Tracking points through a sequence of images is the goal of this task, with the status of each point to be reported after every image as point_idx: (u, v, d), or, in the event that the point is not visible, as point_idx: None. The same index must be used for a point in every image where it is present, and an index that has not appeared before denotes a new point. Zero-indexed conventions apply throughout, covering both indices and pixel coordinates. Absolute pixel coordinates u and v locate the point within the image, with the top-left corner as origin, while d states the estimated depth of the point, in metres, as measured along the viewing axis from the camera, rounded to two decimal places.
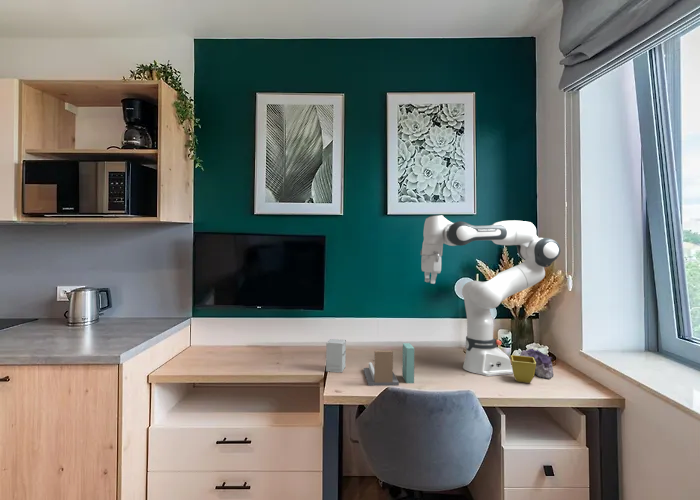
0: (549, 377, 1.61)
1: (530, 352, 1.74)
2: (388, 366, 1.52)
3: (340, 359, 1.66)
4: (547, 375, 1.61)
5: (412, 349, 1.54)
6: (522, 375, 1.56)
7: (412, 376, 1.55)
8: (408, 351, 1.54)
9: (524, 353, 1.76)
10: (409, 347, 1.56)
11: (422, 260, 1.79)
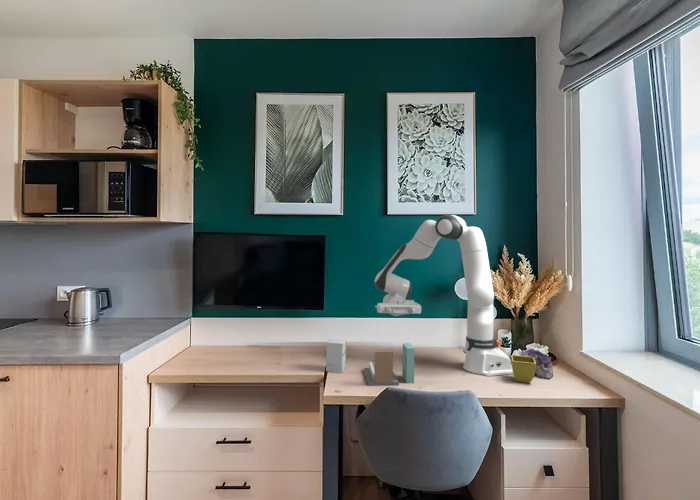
0: (549, 377, 1.61)
1: (530, 352, 1.74)
2: (388, 366, 1.52)
3: (340, 359, 1.66)
4: (547, 375, 1.61)
5: (412, 349, 1.54)
6: (522, 375, 1.56)
7: (412, 376, 1.55)
8: (408, 351, 1.54)
9: (524, 353, 1.76)
10: (409, 347, 1.56)
11: None
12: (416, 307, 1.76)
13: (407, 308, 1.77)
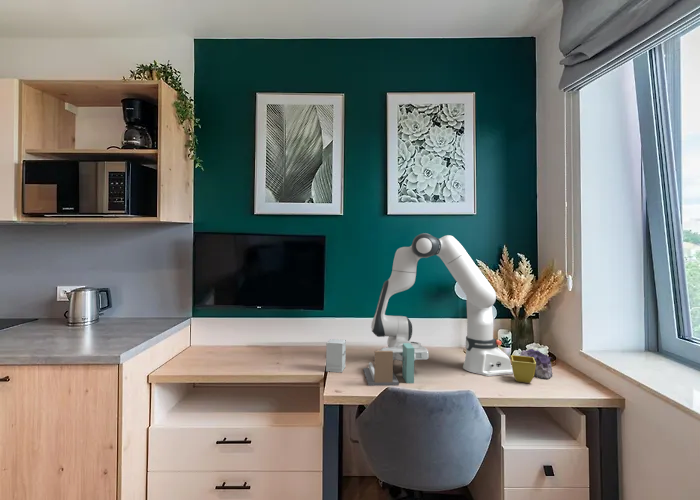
0: (548, 377, 1.61)
1: (530, 352, 1.74)
2: (388, 366, 1.52)
3: (340, 359, 1.66)
4: (546, 375, 1.61)
5: (412, 349, 1.54)
6: (522, 375, 1.56)
7: (412, 376, 1.55)
8: (408, 351, 1.54)
9: (524, 353, 1.76)
10: (409, 347, 1.56)
11: None
12: (423, 352, 1.64)
13: None
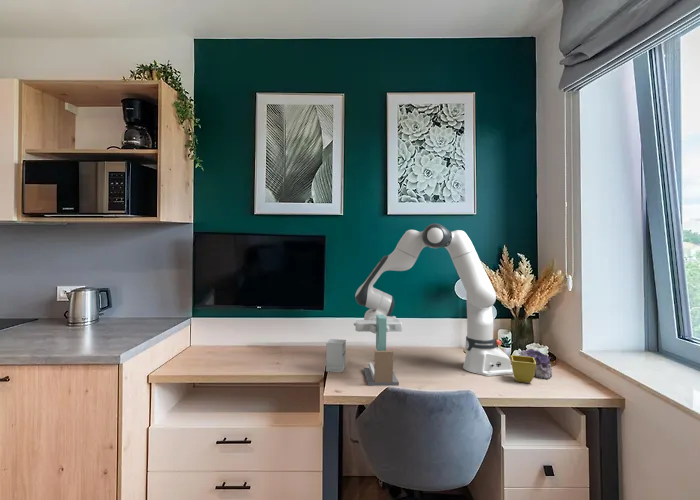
0: (547, 377, 1.61)
1: (529, 352, 1.74)
2: (388, 366, 1.52)
3: (340, 359, 1.66)
4: (545, 375, 1.61)
5: (384, 319, 1.56)
6: (522, 375, 1.56)
7: (384, 346, 1.56)
8: (380, 321, 1.55)
9: (524, 353, 1.76)
10: (381, 317, 1.57)
11: None
12: (397, 324, 1.65)
13: None
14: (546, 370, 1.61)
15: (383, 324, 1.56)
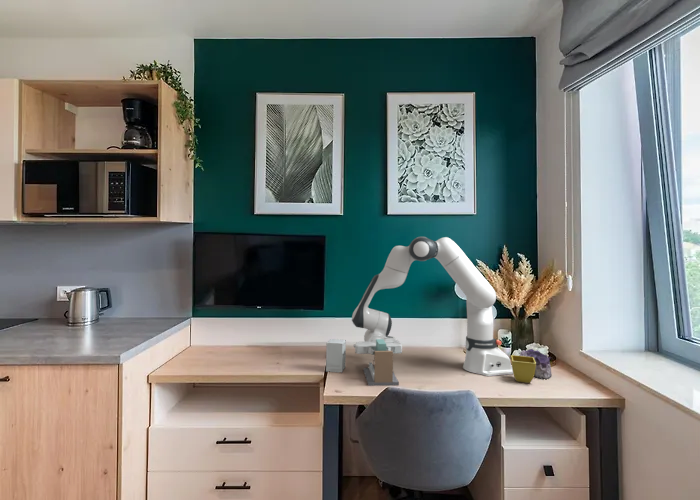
0: (547, 377, 1.61)
1: (529, 352, 1.74)
2: (388, 366, 1.52)
3: (340, 359, 1.66)
4: (545, 375, 1.61)
5: (384, 345, 1.56)
6: (522, 375, 1.56)
7: None
8: (380, 347, 1.56)
9: (523, 353, 1.76)
10: (381, 343, 1.57)
11: None
12: (396, 346, 1.65)
13: None
14: (545, 370, 1.61)
15: (383, 350, 1.56)
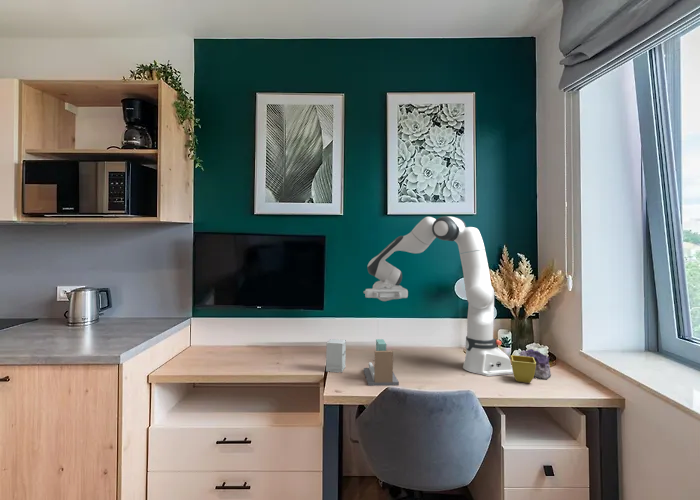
0: (545, 377, 1.61)
1: (529, 352, 1.74)
2: (388, 366, 1.52)
3: (340, 359, 1.66)
4: (543, 375, 1.61)
5: (384, 345, 1.56)
6: (522, 375, 1.56)
7: None
8: (380, 347, 1.56)
9: (523, 353, 1.76)
10: (381, 343, 1.57)
11: None
12: (403, 291, 1.82)
13: (394, 292, 1.82)
14: (544, 370, 1.61)
15: (383, 350, 1.56)
